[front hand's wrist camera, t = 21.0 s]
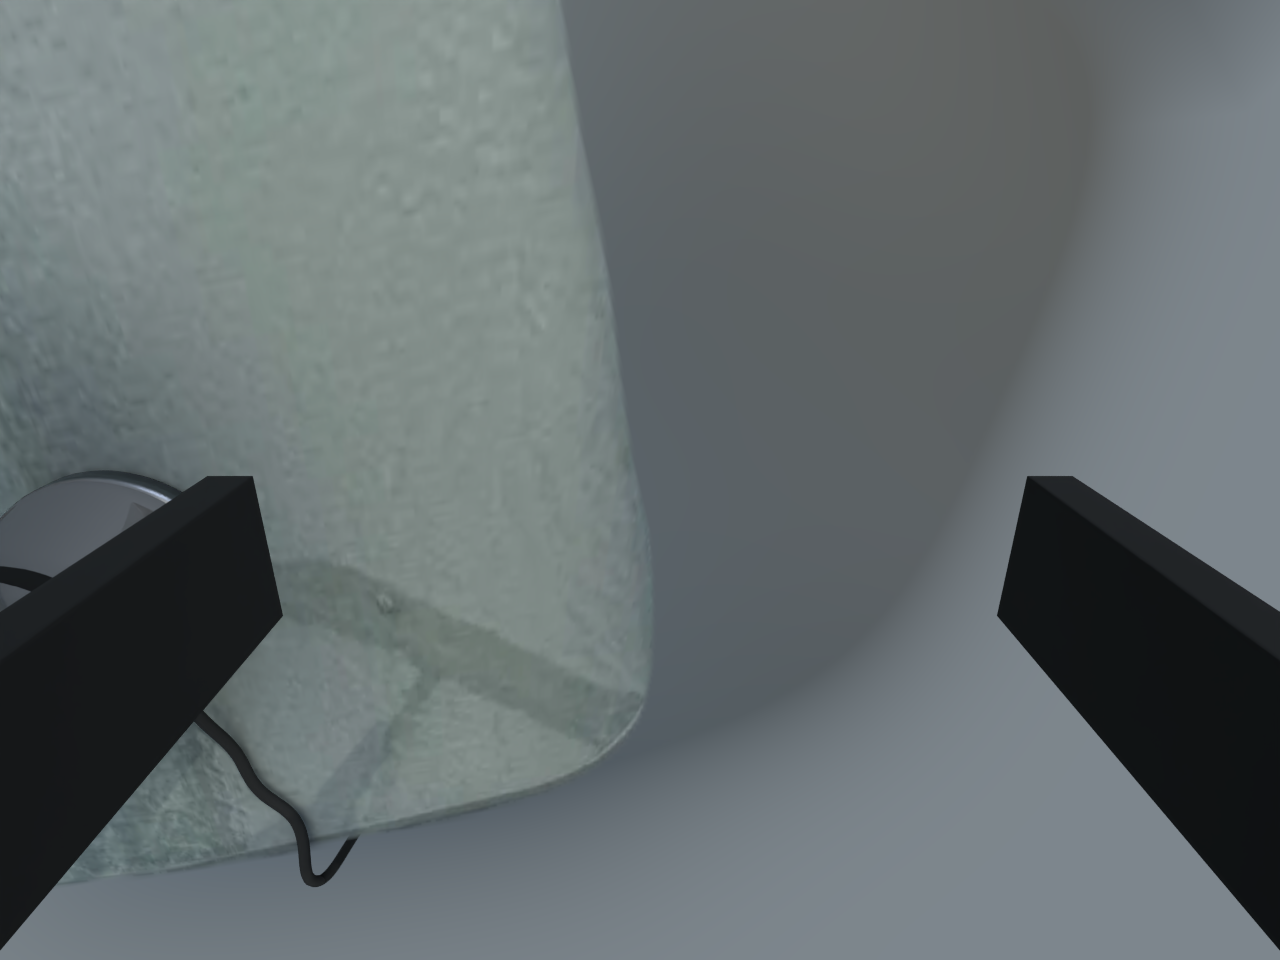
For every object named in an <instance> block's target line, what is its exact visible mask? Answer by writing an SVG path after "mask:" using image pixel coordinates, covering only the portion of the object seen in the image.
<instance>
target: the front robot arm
mask: <svg viewBox="0 0 1280 960" xmlns="http://www.w3.org/2000/svg"><path fill="white" fill-rule="evenodd" d="M282 616H283V614H282V609H281V605H280V600H279V595H278V591H277V586H276V581H275V577H274V572H273V568H272V563H271V558H270V554H269V549H268V545H267V540H266V535H265V531H264V526H263V522H262V517H261V512H260V508H259V503H258V498H257V494H256V489H255V485H254V480H253V476H207V477H205V478H204V479H202V480H201V481H199V482H198V483H196V484H195V485H193V486H192V487H190V488H189V489H187V490H186V491H184V492H181V491H179V490H177V489H175V488H173V487H171V486H169V485H166V484H164V483H162V482H159V481H156V480H154V479H151V478H147V477H144V476H140V475H136V474H131V473H126V472H117V471H89V472H82V473H76V474H73V475H69V476H66V477H63V478H60V479H58V480H56V481H53V482H51V483H49V484H47V485H45V486H43V487H41V488H39V489H37V490H35V491H33V492H31V493H30V494H28V495H26V496H24V497H23V498H22V499H20V500H19V501H18V502H16V503H15V504H14V505H13V506H12V507H11V508H10V509H9V510H8V511H7V512H6V513H5V514H4V515H3V516H2V517H1V518H0V950H1V949H2V948H3V946H4V945H5V944H6V943H7V942H8V941H9V939H10V938H11V937H12V936H13V935H14V933H15V932H16V931H17V930H18V929H19V927H20V926H21V925H22V924H23V923H24V922H25V920H26V919H27V918H28V917H29V916H30V914H31V913H32V912H33V911H34V910H35V909H36V907H37V906H38V905H39V904H40V903H41V901H42V900H43V899H44V898H45V897H46V896H47V894H48V893H49V892H50V891H51V890H52V888H53V887H54V886H55V885H56V884H57V883H58V881H59V880H60V879H61V878H62V877H63V875H64V874H65V873H66V872H67V871H68V869H69V868H70V867H71V866H72V865H73V864H74V862H75V861H76V860H77V859H78V858H79V856H80V855H81V854H82V853H83V852H84V851H85V849H86V848H87V847H88V846H89V845H90V843H91V842H92V841H93V840H94V839H95V838H96V836H97V835H98V834H99V833H100V832H101V830H102V829H103V828H104V827H105V826H106V825H107V823H108V822H109V821H110V820H111V819H112V817H113V816H114V815H115V814H116V813H117V811H118V810H119V809H120V808H121V807H122V806H123V804H124V803H125V802H126V801H127V800H128V798H129V797H130V796H131V795H132V794H133V793H134V791H135V790H136V789H137V788H138V787H139V785H140V784H141V783H142V782H143V781H144V780H145V778H146V777H147V776H148V775H149V774H150V772H151V771H152V770H153V769H154V768H155V767H156V765H157V764H158V763H159V762H160V761H161V759H162V758H163V757H164V756H165V755H166V753H167V752H168V751H169V750H170V749H171V748H172V746H173V745H174V744H175V743H176V742H177V740H178V739H179V738H180V737H181V736H182V735H183V733H184V732H185V731H186V730H187V729H188V727H189V726H190V725H191V724H192V723H193V722H195V723H196V724H197V725H198V726H199V727H200V728H201V729H202V730H204V731H205V732H206V733H207V734H208V735H209V736H210V737H211V738H213V739H214V740H215V741H216V742H217V743H218V744H220V745H221V746H222V747H223V748H224V749H225V751H226V752H227V753H228V754H229V755H230V756H231V758H232V759H233V761H234V762H235V764H236V766H237V768H238V770H239V772H240V774H241V776H242V777H243V779H244V781H245V783H246V784H247V786H248V787H249V788H250V790H251V791H252V792H253V793H254V794H255V795H256V796H257V797H258V798H259V799H260V800H261V801H263V802H264V803H265V804H267V805H268V806H270V807H271V808H273V809H274V810H276V811H277V812H279V813H280V814H281V815H282V816H284V817H285V818H286V819H287V820H288V822H289V823H290V824H291V826H292V828H293V830H294V833H295V836H296V840H297V845H298V854H299V866H300V873H301V876H302V879H303V881H304V882H305V883H306V885H309V886H311V887H319V886H321V885H323V884H325V883H327V882H328V881H329V880H330V879H331V878H332V877H333V876H334V875H335V873H336V872H337V871H338V869H339V868H340V866H341V865H342V863H343V862H344V860H345V858H346V857H347V855H348V854H349V852H350V850H351V849H352V847H353V845H354V844H355V842H356V841H357V839H358V838H359V836H357V837H351V838H347V840H346V841H345V843H344V844H343V846H342V847H341V849H340V851H339V852H338V854H337V855H336V857H335V858H334V860H333V861H332V863H331V864H330V865H329V867H328V868H327V869H326V870H325V871H324V872H323V873H322V874H321V875H314V874H313V872H312V867H311V856H310V845H309V838H308V834H307V830H306V827H305V825H304V823H303V821H302V819H301V817H300V816H299V814H298V813H297V812H296V811H295V810H294V809H293V808H292V807H291V806H290V805H289V804H288V803H286V802H285V801H284V800H282V799H281V798H279V797H278V796H276V795H275V794H273V793H272V792H271V791H269V790H268V789H267V788H266V787H265V786H264V785H263V784H262V783H261V782H260V780H259V779H258V778H257V776H256V775H255V773H254V771H253V769H252V767H251V765H250V763H249V761H248V759H247V757H246V756H245V754H244V752H243V751H242V749H241V748H240V747H239V745H238V744H237V743H236V742H235V741H234V740H233V739H232V738H231V737H230V736H229V735H228V734H227V733H226V732H225V731H224V730H223V729H222V728H221V727H219V726H218V725H217V724H216V723H215V722H214V721H213V720H212V719H211V718H210V717H209V716H208V715H207V714H206V713H205V712H204V711H203V710H204V709H205V707H206V706H207V705H208V704H209V703H210V701H211V700H212V699H213V698H214V697H215V695H216V694H217V693H218V692H219V691H220V690H221V688H222V687H223V686H224V685H225V684H226V682H227V681H228V680H229V679H230V678H231V677H232V675H233V674H234V673H235V672H236V671H237V669H238V668H239V667H240V666H241V665H242V664H243V662H244V661H245V660H246V659H247V658H248V656H249V655H250V654H251V653H252V652H253V651H254V649H255V648H256V647H257V646H258V645H259V643H260V642H261V641H262V640H263V639H264V637H265V636H266V635H267V634H268V633H269V632H270V630H271V629H272V628H273V627H274V626H275V624H276V623H277V622H278V621H279V620H280V619H281V617H282ZM997 616H998V617H999V619H1000V620H1001V621H1002V622H1003V623H1004V624H1005V626H1006V627H1007V628H1008V629H1009V630H1010V632H1011V633H1012V634H1013V635H1014V636H1015V637H1016V639H1017V640H1018V641H1019V642H1020V643H1021V645H1022V646H1023V647H1024V648H1025V649H1026V650H1027V652H1028V653H1029V654H1030V655H1031V656H1032V658H1033V659H1034V660H1035V661H1036V662H1037V664H1038V665H1039V666H1040V667H1041V668H1042V669H1043V671H1044V672H1045V673H1046V674H1047V675H1048V677H1049V678H1050V679H1051V680H1052V681H1053V682H1054V684H1055V685H1056V686H1057V687H1058V688H1059V690H1060V691H1061V692H1062V693H1063V694H1064V695H1065V697H1066V698H1067V699H1068V700H1069V701H1070V703H1071V704H1072V705H1073V706H1074V707H1075V708H1076V710H1077V711H1078V712H1079V713H1080V714H1081V716H1082V717H1083V718H1084V719H1085V720H1086V722H1087V723H1088V724H1089V725H1090V726H1091V727H1092V729H1093V730H1094V731H1095V732H1096V733H1097V735H1098V736H1099V737H1100V738H1101V739H1102V740H1103V742H1104V743H1105V744H1106V745H1107V746H1108V748H1109V749H1110V750H1111V751H1112V752H1113V753H1114V755H1115V756H1116V757H1117V758H1118V759H1119V761H1120V762H1121V763H1122V764H1123V765H1124V767H1125V768H1126V769H1127V770H1128V771H1129V772H1130V774H1131V775H1132V776H1133V777H1134V778H1135V780H1136V781H1137V782H1138V783H1139V784H1140V785H1141V787H1142V788H1143V789H1144V790H1145V791H1146V793H1147V794H1148V795H1149V796H1150V797H1151V798H1152V800H1153V801H1154V802H1155V803H1156V804H1157V806H1158V807H1159V808H1160V809H1161V810H1162V811H1163V813H1164V814H1165V815H1166V816H1167V817H1168V819H1169V820H1170V821H1171V822H1172V823H1173V825H1174V826H1175V827H1176V828H1177V829H1178V830H1179V832H1180V833H1181V834H1182V835H1183V836H1184V838H1185V839H1186V840H1187V841H1188V842H1189V843H1190V845H1191V846H1192V847H1193V848H1194V849H1195V851H1196V852H1197V853H1198V854H1199V855H1200V856H1201V858H1202V859H1203V860H1204V861H1205V862H1206V864H1207V865H1208V866H1209V867H1210V868H1211V869H1212V871H1213V872H1214V873H1215V874H1216V875H1217V877H1218V878H1219V879H1220V880H1221V881H1222V883H1223V884H1224V885H1225V886H1226V887H1227V888H1228V890H1229V891H1230V892H1231V893H1232V894H1233V896H1234V897H1235V898H1236V899H1237V900H1238V901H1239V903H1240V904H1241V905H1242V906H1243V907H1244V909H1245V910H1246V911H1247V912H1248V913H1249V914H1250V916H1251V917H1252V918H1253V919H1254V920H1255V922H1256V923H1257V924H1258V925H1259V926H1260V927H1261V929H1262V930H1263V931H1264V932H1265V933H1266V935H1267V936H1268V937H1269V938H1270V939H1271V940H1272V942H1273V943H1274V944H1275V945H1276V946H1277V948H1278V949H1279V950H1280V612H1279V611H1278V610H1276V609H1275V608H1273V607H1272V606H1270V605H1268V604H1267V603H1265V602H1264V601H1262V600H1261V599H1259V598H1258V597H1256V596H1255V595H1253V594H1252V593H1250V592H1249V591H1247V590H1246V589H1244V588H1243V587H1241V586H1240V585H1238V584H1237V583H1235V582H1233V581H1232V580H1230V579H1229V578H1227V577H1226V576H1224V575H1223V574H1221V573H1220V572H1218V571H1217V570H1215V569H1214V568H1212V567H1211V566H1209V565H1207V564H1206V563H1204V562H1203V561H1201V560H1200V559H1198V558H1197V557H1195V556H1194V555H1192V554H1191V553H1189V552H1188V551H1186V550H1185V549H1183V548H1182V547H1180V546H1178V545H1177V544H1175V543H1174V542H1172V541H1171V540H1169V539H1168V538H1166V537H1165V536H1163V535H1162V534H1160V533H1159V532H1157V531H1156V530H1154V529H1152V528H1151V527H1149V526H1148V525H1146V524H1145V523H1143V522H1142V521H1140V520H1139V519H1137V518H1136V517H1134V516H1133V515H1131V514H1129V513H1128V512H1127V511H1125V510H1123V509H1122V508H1120V507H1119V506H1117V505H1116V504H1114V503H1113V502H1111V501H1110V500H1108V499H1107V498H1105V497H1104V496H1102V495H1100V494H1099V493H1097V492H1096V491H1094V490H1093V489H1091V488H1090V487H1088V486H1087V485H1085V484H1084V483H1082V482H1081V481H1079V480H1078V479H1076V478H1074V477H1073V476H1027V480H1026V485H1025V489H1024V494H1023V499H1022V503H1021V508H1020V512H1019V517H1018V522H1017V526H1016V531H1015V535H1014V540H1013V545H1012V549H1011V554H1010V558H1009V563H1008V568H1007V572H1006V577H1005V581H1004V586H1003V591H1002V595H1001V600H1000V605H999V609H998V614H997Z"/></svg>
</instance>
